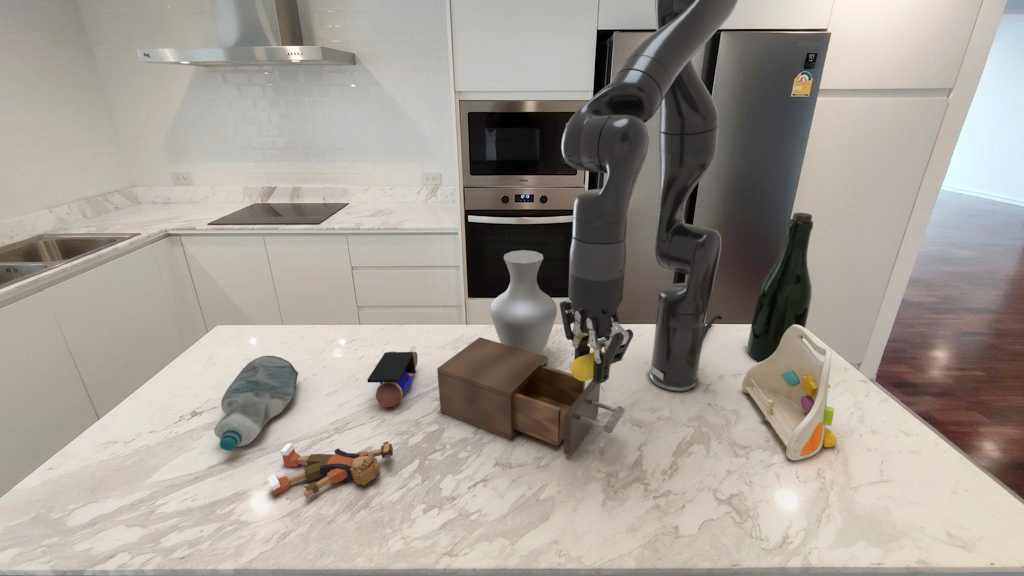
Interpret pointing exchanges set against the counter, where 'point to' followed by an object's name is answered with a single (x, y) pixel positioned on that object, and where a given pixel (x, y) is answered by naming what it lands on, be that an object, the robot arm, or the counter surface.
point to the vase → (524, 305)
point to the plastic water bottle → (255, 399)
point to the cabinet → (486, 384)
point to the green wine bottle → (783, 292)
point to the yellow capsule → (583, 367)
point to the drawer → (559, 408)
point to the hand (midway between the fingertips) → (590, 374)
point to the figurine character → (393, 376)
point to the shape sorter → (795, 393)
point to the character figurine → (330, 468)
